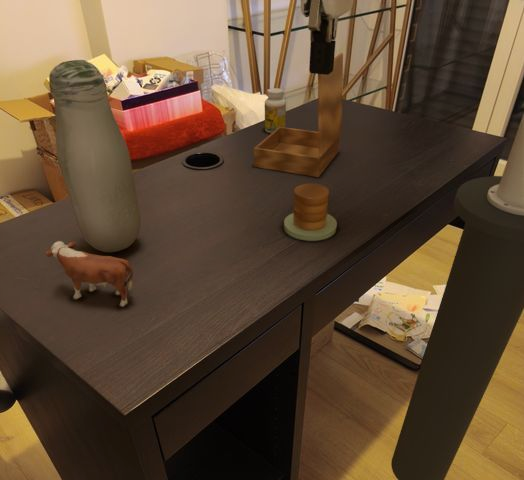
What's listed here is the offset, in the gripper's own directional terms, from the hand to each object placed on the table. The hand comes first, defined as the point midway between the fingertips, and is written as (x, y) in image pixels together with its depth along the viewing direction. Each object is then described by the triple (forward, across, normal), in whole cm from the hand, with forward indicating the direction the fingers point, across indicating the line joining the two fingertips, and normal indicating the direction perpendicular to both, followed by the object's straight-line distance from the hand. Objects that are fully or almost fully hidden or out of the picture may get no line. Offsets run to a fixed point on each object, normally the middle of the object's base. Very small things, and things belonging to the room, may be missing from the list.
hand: (321, 72), depth 70 cm
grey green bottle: (+25, -19, +29) cm, 43 cm away
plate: (+25, 0, 0) cm, 25 cm away
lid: (+13, +29, +6) cm, 32 cm away
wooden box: (+25, +29, +13) cm, 40 cm away
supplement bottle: (+25, +45, +25) cm, 57 cm away
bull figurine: (+25, -32, +23) cm, 47 cm away
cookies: (+24, 0, 0) cm, 24 cm away
